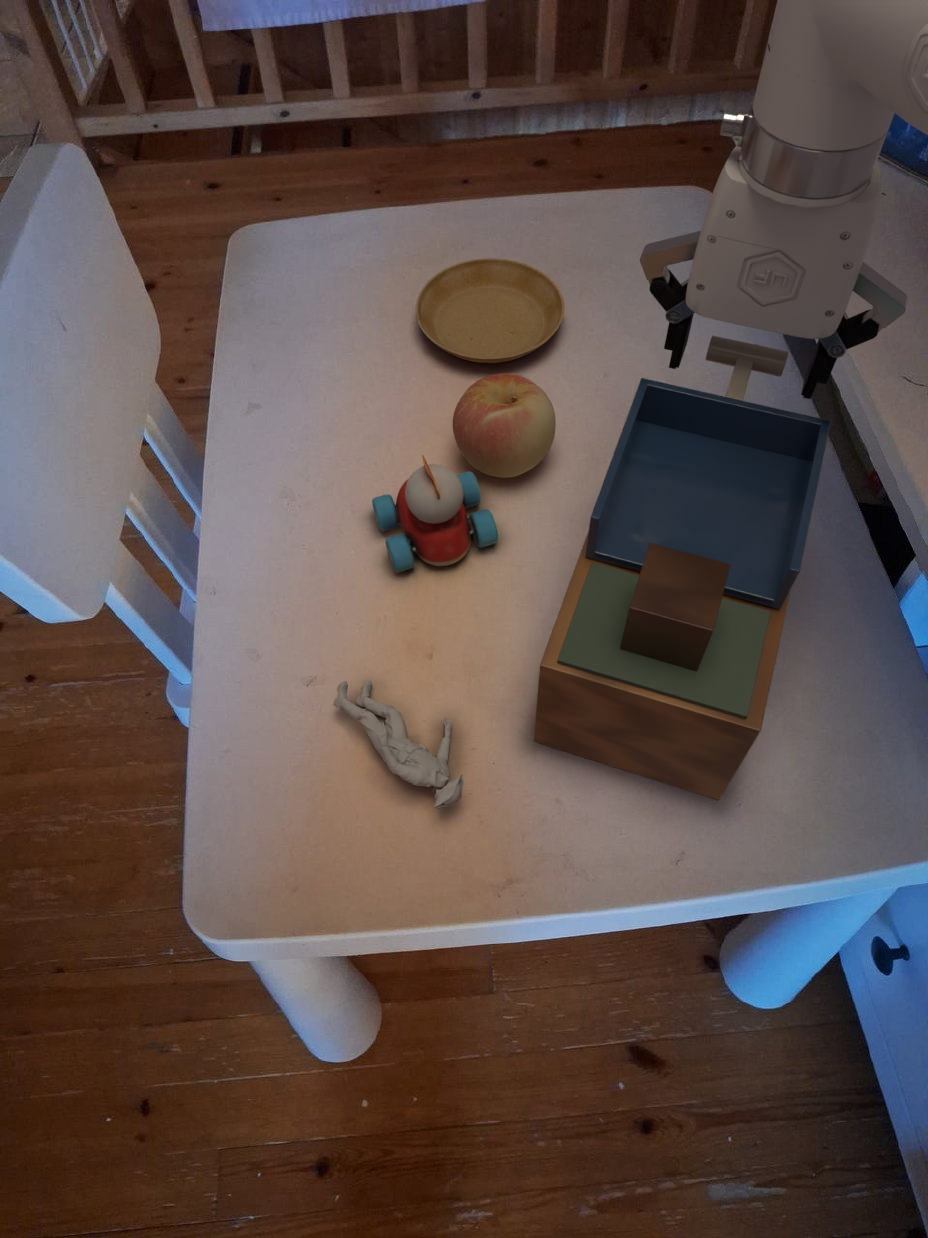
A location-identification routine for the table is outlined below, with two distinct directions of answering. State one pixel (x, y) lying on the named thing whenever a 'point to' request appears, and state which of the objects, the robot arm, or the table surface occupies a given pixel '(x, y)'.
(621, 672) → the mat
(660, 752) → the stand
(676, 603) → the block
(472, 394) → the apple
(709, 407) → the blue open box
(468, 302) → the plant saucer
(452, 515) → the toy car
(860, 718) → the table surface
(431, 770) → the soldier figure
